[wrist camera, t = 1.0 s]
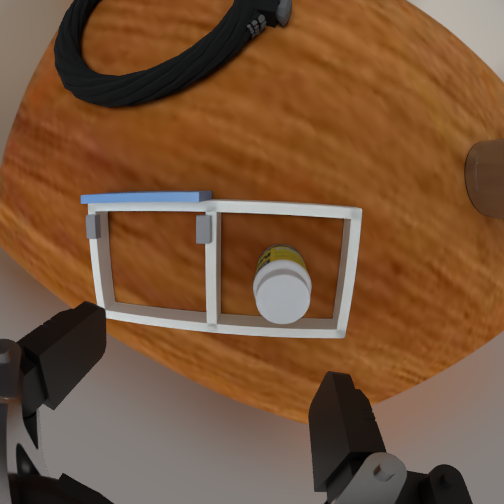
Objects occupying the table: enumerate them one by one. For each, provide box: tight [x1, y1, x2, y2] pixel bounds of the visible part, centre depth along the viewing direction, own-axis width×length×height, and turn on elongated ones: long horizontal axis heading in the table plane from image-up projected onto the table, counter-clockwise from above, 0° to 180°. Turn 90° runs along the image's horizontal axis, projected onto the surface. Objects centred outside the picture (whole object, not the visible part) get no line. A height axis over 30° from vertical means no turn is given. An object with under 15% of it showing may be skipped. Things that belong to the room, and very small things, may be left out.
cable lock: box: [54, 0, 292, 107], centre depth 21 cm, size 28×4×30 cm
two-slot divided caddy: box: [81, 191, 362, 338], centre depth 26 cm, size 27×14×5 cm, turn 88°
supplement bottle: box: [253, 245, 311, 324], centre depth 24 cm, size 5×5×8 cm
